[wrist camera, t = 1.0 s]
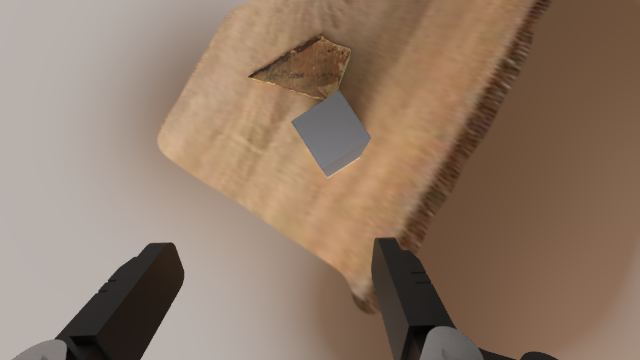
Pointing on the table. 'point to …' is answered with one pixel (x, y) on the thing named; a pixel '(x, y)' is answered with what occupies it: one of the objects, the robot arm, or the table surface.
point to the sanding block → (332, 133)
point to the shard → (308, 69)
